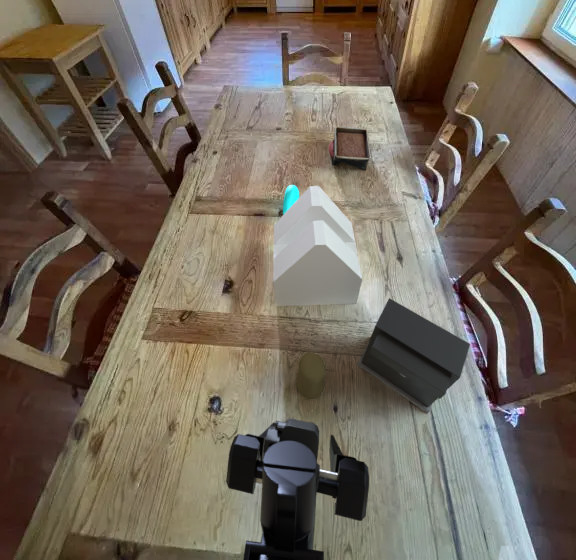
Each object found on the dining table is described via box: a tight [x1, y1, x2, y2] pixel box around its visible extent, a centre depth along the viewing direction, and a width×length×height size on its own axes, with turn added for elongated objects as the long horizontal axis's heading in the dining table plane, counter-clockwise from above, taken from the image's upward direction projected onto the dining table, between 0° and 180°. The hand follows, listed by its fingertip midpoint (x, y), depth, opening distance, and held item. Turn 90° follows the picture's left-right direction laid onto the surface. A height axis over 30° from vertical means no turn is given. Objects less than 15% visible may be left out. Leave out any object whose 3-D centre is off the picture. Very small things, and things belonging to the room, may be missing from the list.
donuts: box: [282, 184, 300, 216], centre depth 98 cm, size 10×10×10 cm
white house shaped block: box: [272, 185, 363, 307], centre depth 78 cm, size 19×15×25 cm
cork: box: [295, 351, 327, 401], centre depth 66 cm, size 6×6×11 cm
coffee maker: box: [357, 297, 471, 414], centre depth 63 cm, size 10×15×20 cm, turn 55°
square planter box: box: [328, 126, 373, 171], centre depth 116 cm, size 14×18×10 cm
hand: (302, 431), depth 54 cm, fingers open, 9 cm apart
